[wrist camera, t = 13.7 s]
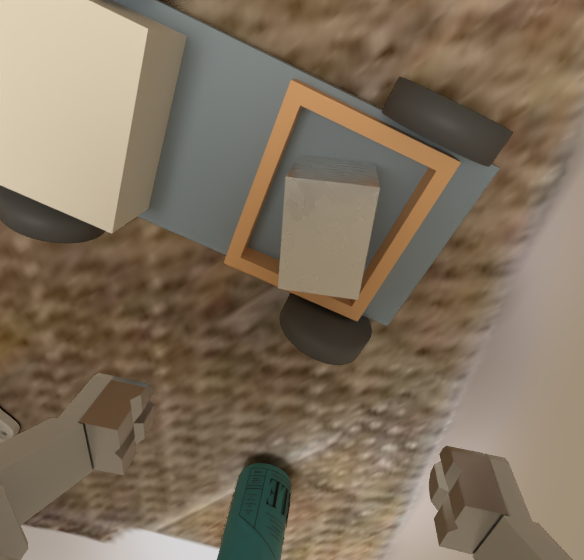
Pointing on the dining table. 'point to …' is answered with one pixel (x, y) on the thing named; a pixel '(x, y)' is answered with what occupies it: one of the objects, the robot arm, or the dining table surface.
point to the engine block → (327, 225)
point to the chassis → (221, 150)
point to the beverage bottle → (257, 515)
